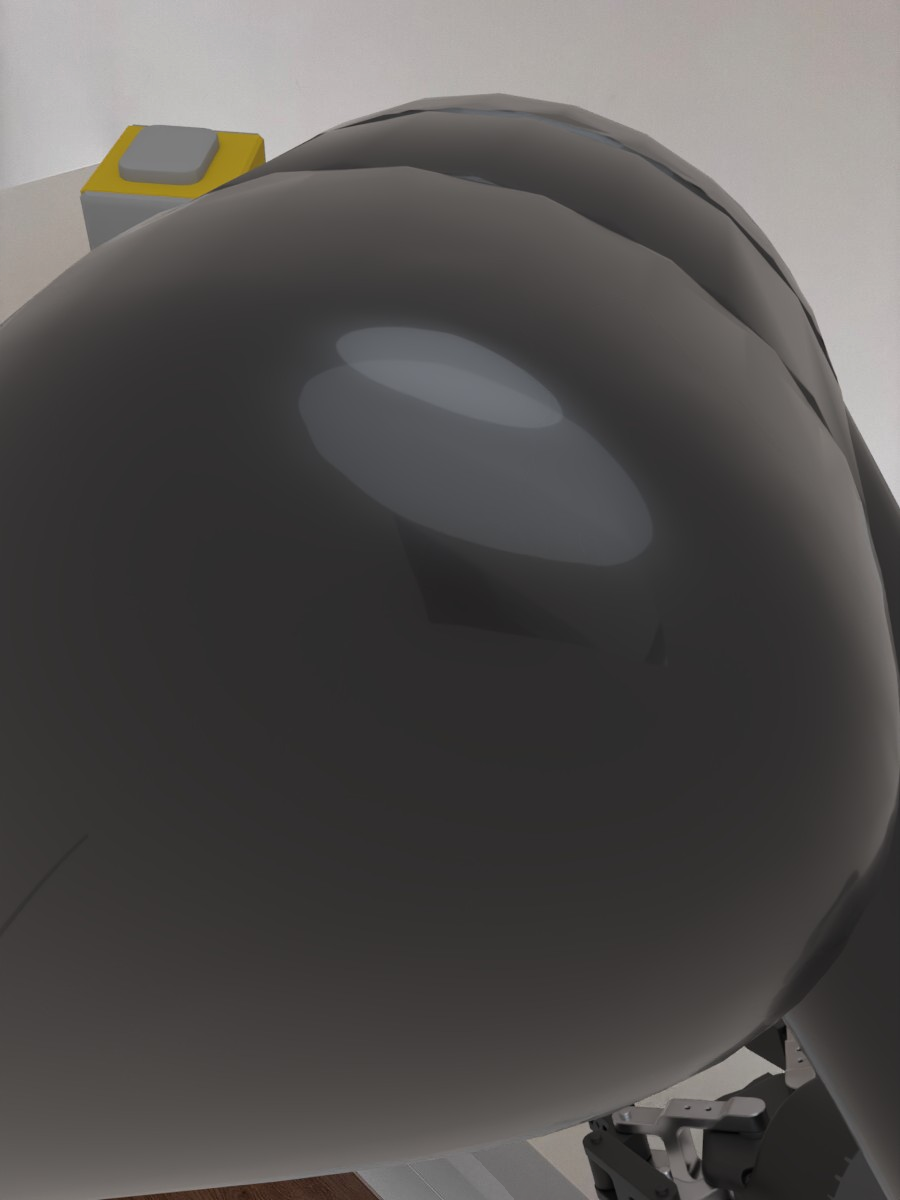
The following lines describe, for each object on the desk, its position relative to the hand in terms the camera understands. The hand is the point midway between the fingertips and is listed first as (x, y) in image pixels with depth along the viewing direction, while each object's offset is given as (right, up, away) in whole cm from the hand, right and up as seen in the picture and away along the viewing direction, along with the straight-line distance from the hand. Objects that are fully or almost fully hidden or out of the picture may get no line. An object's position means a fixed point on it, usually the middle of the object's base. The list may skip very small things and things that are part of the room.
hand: (669, 1057), depth 51 cm
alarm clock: (-41, +56, +72) cm, 100 cm away
